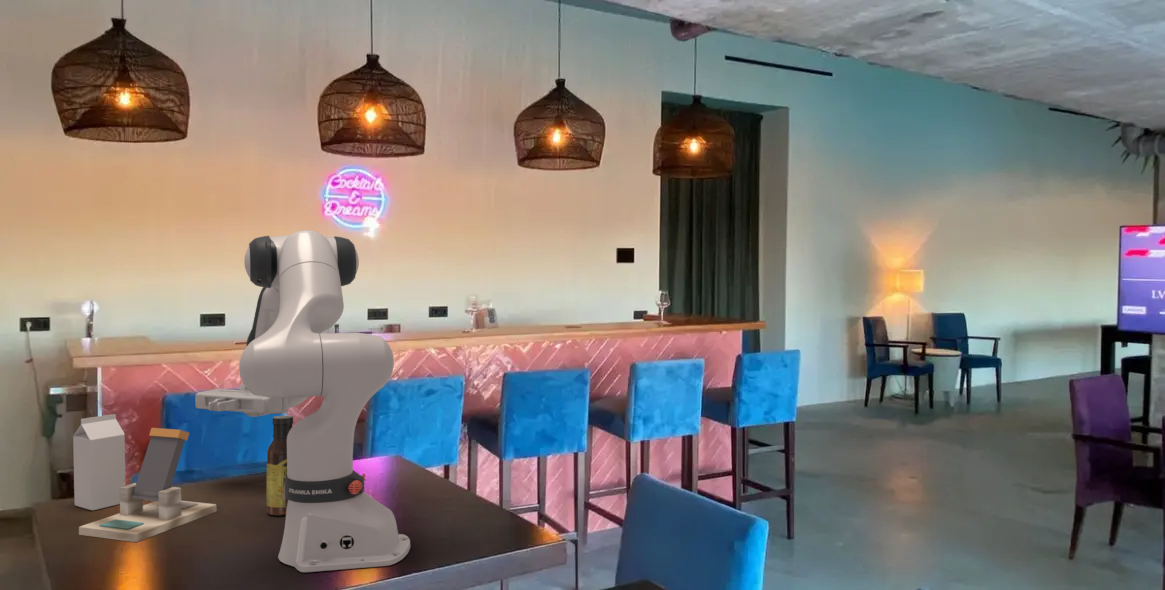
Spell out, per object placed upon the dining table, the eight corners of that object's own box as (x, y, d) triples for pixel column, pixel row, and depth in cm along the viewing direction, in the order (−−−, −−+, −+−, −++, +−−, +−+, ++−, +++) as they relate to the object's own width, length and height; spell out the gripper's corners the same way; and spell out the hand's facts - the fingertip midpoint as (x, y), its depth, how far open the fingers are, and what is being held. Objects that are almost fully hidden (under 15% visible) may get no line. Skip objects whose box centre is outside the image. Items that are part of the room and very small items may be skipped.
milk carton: (126, 503, 175) (124, 415, 175) (91, 511, 169) (89, 420, 169) (108, 498, 179) (106, 412, 179) (74, 506, 173) (72, 417, 173)
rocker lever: (139, 499, 164) (161, 430, 169) (168, 502, 161) (189, 432, 166) (129, 497, 161) (151, 427, 166) (158, 500, 159) (180, 429, 164)
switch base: (163, 505, 174) (162, 472, 173) (216, 511, 169) (216, 478, 169) (79, 534, 155) (78, 498, 154) (136, 542, 150) (135, 504, 150)
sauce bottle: (287, 517, 165) (286, 420, 164) (260, 516, 166) (258, 419, 165) (305, 508, 171) (304, 414, 171) (278, 506, 172) (277, 413, 172)
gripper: (221, 381, 194) (175, 390, 181) (293, 386, 188) (251, 395, 174) (221, 407, 194) (175, 418, 181) (293, 413, 188) (251, 424, 175)
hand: (213, 407), depth 178 cm, fingers closed
